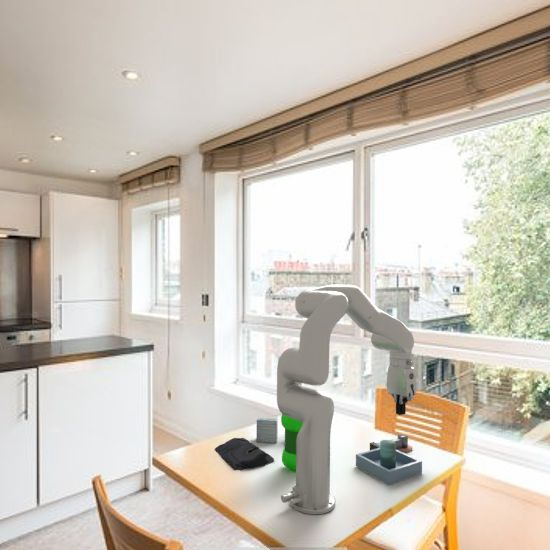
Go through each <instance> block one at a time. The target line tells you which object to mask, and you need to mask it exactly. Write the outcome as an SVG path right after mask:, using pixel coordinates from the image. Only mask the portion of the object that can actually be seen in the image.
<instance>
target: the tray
mask: <svg viewBox="0 0 550 550" xmlns="http://www.w3.org/2000/svg"><path fill="white" fill-rule="evenodd" d="M355 467H356V468H358V469H360V470H362V471H363V472H365V473H367V474H369V475H371V476H372V477H374V478H376V479H377V480H379V481H381V482H383V483H384V484H386V485H389V486H390V485H393V484H395V483H398V482H402V481H405V480H408V479H411V478H414V477H416V476H419V475H422V474H423V461H422V460H420V459H418V458H417V457H416V458H415V457H414V456H412V455H409V454H408V453H406V452H401V451H398V450H396V468H393V469H390V470H388V469H386V468H385V467H383V466H381V465H380V448H377V449H373V450H370V449H369V450H367V451H364V452H359V453H356V454H355Z"/></svg>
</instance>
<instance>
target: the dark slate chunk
mask: <svg viewBox="0 0 550 550" xmlns="http://www.w3.org/2000/svg"><path fill="white" fill-rule="evenodd" d="M214 451H215V452H216V453H217V454H218V455H219V456H220V459H222V460H224V462H225V463H227V465H229V467H231V469H233V471H240V472H241V471H245V470H250V469H257V468H261V467H264V466H266V465H268V464H271V463H273V462H275V458H274V457H273V456H272V455H270V454H269V453H267V452H266V451H264V450H262V449H261V448H260V447H258V445H255V444H254V443H252V442H251V441H249V440H248V439H246V438H245V437H233V438H232V439H228V440H227V441H225V442H224V443H221V444H218V445H217V446H216V447H215V448H214Z"/></svg>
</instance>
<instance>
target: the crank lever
mask: <svg viewBox="0 0 550 550" xmlns="http://www.w3.org/2000/svg"><path fill="white" fill-rule="evenodd" d="M408 438H409V436H408V435H406V434H403V433H401V434H400V433H399V434H397V437H396V438H395V437H394V438H391V439H390V440H391V441H394V442H395V443H396V450H397V449H401V448H408V445H409V443H408V442H409V439H408ZM377 448H380V442H374V441H373V442H369V451H370V450H373V449H377Z"/></svg>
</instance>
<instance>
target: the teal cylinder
mask: <svg viewBox="0 0 550 550" xmlns="http://www.w3.org/2000/svg"><path fill="white" fill-rule="evenodd" d="M379 443H380V465H381V466H383V467H385V468H386V469H388V470H390V469H393V468H396V443H395V442H394V441H391V439H382V440H380V442H379Z"/></svg>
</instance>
